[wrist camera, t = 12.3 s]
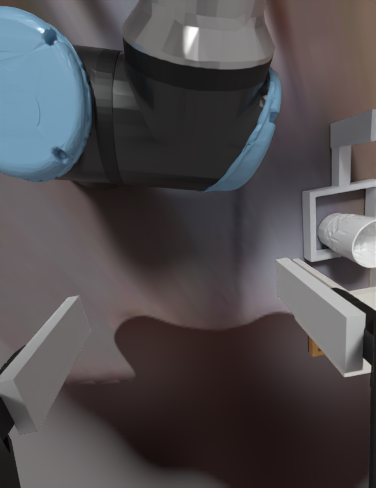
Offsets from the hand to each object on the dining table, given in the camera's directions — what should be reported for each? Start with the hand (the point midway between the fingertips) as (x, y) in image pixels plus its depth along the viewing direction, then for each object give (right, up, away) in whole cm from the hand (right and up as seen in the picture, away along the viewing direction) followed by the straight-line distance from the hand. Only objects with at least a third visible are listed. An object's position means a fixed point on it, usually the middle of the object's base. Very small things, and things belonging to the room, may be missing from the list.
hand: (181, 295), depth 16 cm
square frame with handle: (+28, +13, +28) cm, 41 cm away
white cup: (+29, +6, +30) cm, 42 cm away
